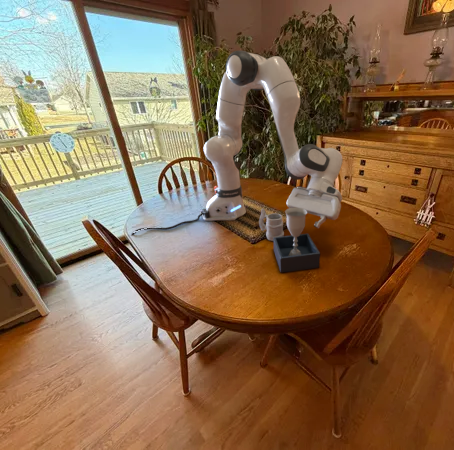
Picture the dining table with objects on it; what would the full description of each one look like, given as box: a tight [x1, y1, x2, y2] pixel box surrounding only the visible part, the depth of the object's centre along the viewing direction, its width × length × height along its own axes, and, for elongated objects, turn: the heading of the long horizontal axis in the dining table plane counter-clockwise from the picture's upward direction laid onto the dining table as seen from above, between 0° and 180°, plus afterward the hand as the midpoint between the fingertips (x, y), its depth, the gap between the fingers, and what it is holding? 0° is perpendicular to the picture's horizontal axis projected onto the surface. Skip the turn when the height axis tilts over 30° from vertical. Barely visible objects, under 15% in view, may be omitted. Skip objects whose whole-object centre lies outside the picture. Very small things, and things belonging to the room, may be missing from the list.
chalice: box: [284, 207, 308, 256], centre depth 82 cm, size 7×7×18 cm
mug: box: [258, 207, 285, 242], centre depth 99 cm, size 8×12×12 cm, turn 54°
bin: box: [272, 233, 321, 273], centre depth 86 cm, size 14×14×6 cm
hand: (304, 223), depth 86 cm, fingers open, 8 cm apart
